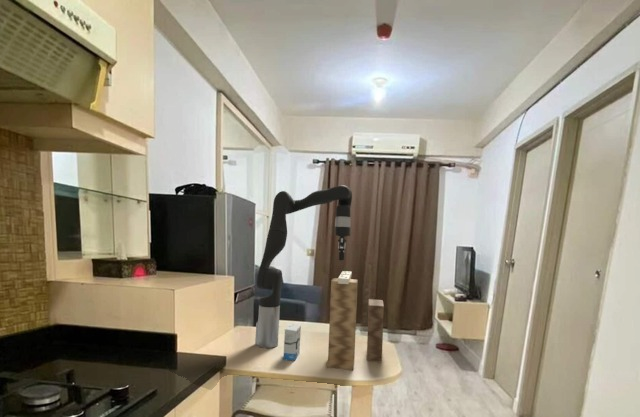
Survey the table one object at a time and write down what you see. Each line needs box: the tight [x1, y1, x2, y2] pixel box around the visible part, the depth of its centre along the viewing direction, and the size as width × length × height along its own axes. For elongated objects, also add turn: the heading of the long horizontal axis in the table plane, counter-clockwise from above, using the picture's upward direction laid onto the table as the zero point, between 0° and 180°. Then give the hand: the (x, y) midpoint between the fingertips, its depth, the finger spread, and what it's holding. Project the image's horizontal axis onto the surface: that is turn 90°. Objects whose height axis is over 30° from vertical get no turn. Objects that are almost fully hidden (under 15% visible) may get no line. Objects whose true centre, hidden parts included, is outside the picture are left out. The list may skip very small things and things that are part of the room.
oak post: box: [326, 277, 358, 371], centre depth 134 cm, size 10×11×32 cm
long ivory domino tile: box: [338, 270, 353, 284], centre depth 138 cm, size 4×22×2 cm, turn 172°
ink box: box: [283, 323, 302, 361], centre depth 138 cm, size 8×5×12 cm, turn 168°
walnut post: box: [366, 298, 385, 362], centre depth 143 cm, size 6×12×22 cm, turn 172°
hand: (341, 260), depth 163 cm, fingers open, 8 cm apart
